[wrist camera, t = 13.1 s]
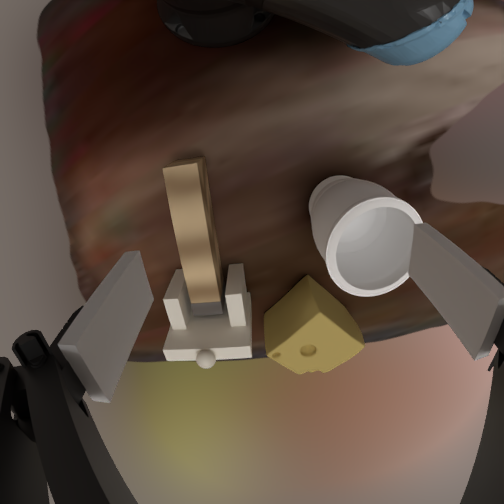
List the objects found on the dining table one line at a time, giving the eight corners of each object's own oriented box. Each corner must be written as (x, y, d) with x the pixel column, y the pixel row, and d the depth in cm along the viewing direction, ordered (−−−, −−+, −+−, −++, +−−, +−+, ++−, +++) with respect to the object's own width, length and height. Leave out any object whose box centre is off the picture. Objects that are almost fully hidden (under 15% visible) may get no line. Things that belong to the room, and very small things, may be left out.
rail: (174, 160, 37) (161, 168, 32) (205, 156, 37) (197, 163, 32) (199, 291, 46) (193, 315, 40) (226, 289, 46) (223, 313, 40)
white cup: (309, 247, 43) (335, 309, 29) (292, 178, 38) (315, 214, 25) (377, 228, 41) (427, 280, 28) (366, 159, 37) (423, 186, 24)
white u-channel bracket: (172, 269, 44) (146, 329, 31) (246, 262, 44) (244, 324, 31) (183, 308, 47) (164, 372, 34) (251, 303, 47) (252, 370, 34)
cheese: (304, 343, 51) (313, 386, 42) (259, 311, 47) (261, 355, 38) (350, 306, 47) (368, 347, 38) (307, 268, 44) (320, 308, 35)
